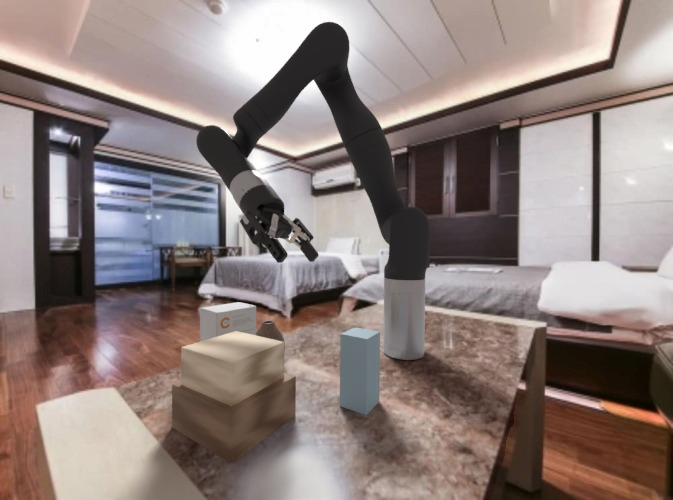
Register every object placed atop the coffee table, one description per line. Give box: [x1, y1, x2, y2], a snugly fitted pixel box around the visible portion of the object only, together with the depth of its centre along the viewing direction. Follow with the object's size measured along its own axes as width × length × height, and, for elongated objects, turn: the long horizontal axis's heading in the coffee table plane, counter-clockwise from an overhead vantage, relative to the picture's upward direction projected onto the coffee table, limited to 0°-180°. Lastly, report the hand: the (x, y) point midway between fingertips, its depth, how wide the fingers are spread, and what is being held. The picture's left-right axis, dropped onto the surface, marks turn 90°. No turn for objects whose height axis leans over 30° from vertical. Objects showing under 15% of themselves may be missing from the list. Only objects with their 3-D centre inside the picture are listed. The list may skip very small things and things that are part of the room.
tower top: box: [180, 331, 285, 406], centre depth 40 cm, size 9×10×5 cm
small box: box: [199, 301, 257, 342], centre depth 54 cm, size 8×6×13 cm
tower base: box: [171, 371, 297, 464], centre depth 40 cm, size 11×12×6 cm
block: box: [339, 327, 381, 416], centre depth 45 cm, size 4×4×11 cm
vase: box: [256, 320, 286, 353], centre depth 60 cm, size 7×7×9 cm
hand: (300, 259), depth 52 cm, fingers open, 8 cm apart
